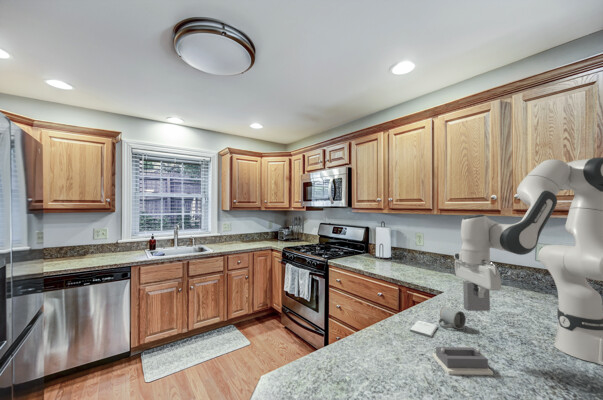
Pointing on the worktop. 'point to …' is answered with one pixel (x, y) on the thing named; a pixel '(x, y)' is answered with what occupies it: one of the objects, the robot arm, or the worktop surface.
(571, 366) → the worktop surface
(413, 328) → the external hard drive
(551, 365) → the worktop surface
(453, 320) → the ceramic mug
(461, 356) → the dock
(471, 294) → the block
